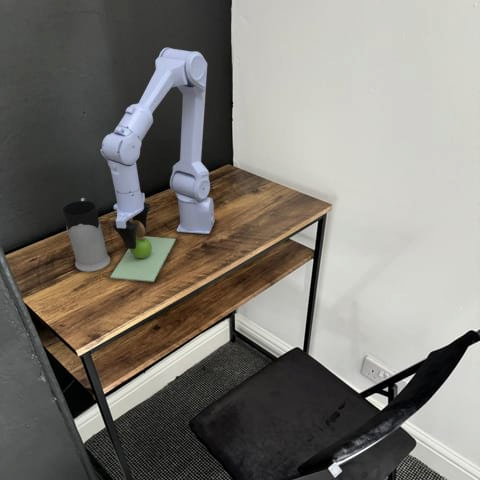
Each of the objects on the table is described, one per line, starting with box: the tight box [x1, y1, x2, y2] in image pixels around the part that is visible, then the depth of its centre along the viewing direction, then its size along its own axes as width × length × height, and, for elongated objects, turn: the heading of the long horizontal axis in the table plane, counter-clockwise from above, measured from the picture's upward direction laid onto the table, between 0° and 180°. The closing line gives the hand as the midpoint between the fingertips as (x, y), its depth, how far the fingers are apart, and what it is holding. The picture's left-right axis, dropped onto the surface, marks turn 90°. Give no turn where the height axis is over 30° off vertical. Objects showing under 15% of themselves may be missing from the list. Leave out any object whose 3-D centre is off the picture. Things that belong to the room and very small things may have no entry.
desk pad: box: [109, 235, 177, 283], centre depth 119 cm, size 11×20×1 cm, turn 171°
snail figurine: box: [129, 219, 152, 258], centre depth 115 cm, size 5×6×12 cm
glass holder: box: [62, 197, 111, 272], centre depth 115 cm, size 9×14×15 cm, turn 11°
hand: (136, 240), depth 115 cm, fingers open, 7 cm apart
